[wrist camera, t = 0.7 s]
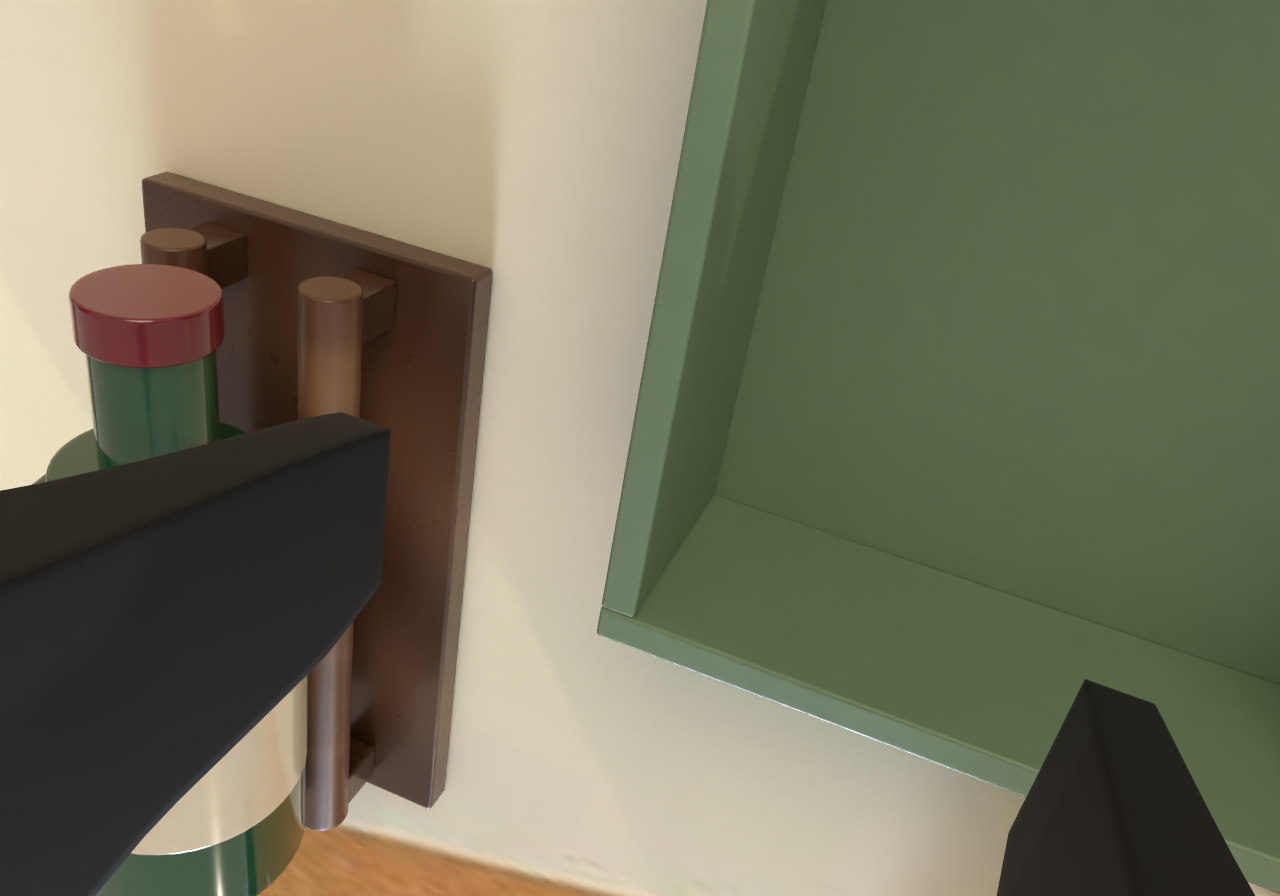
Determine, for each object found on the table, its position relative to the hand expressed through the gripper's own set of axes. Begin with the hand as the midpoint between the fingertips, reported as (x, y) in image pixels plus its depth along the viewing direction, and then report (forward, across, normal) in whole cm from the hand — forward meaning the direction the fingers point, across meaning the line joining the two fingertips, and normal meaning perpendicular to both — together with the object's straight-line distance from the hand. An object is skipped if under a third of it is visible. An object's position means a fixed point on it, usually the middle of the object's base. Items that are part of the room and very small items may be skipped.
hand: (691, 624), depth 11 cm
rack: (+10, +11, +9) cm, 18 cm away
